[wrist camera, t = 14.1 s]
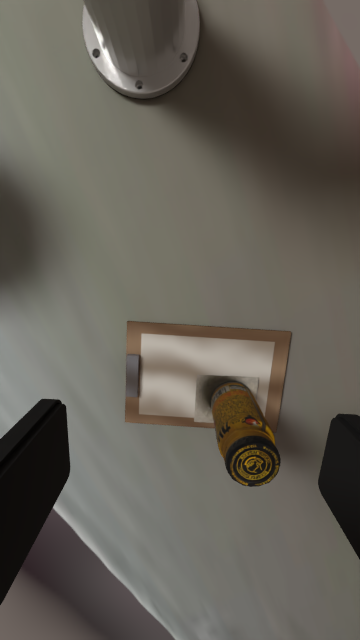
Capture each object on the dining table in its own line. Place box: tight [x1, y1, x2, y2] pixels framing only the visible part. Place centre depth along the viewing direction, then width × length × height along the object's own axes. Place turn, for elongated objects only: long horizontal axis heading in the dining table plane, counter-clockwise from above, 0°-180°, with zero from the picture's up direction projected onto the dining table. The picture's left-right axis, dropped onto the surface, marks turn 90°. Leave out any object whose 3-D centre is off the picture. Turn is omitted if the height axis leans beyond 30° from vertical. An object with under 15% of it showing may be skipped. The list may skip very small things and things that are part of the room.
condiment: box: [194, 375, 280, 487], centre depth 29 cm, size 7×8×12 cm
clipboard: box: [125, 321, 291, 432], centre depth 35 cm, size 15×22×1 cm
